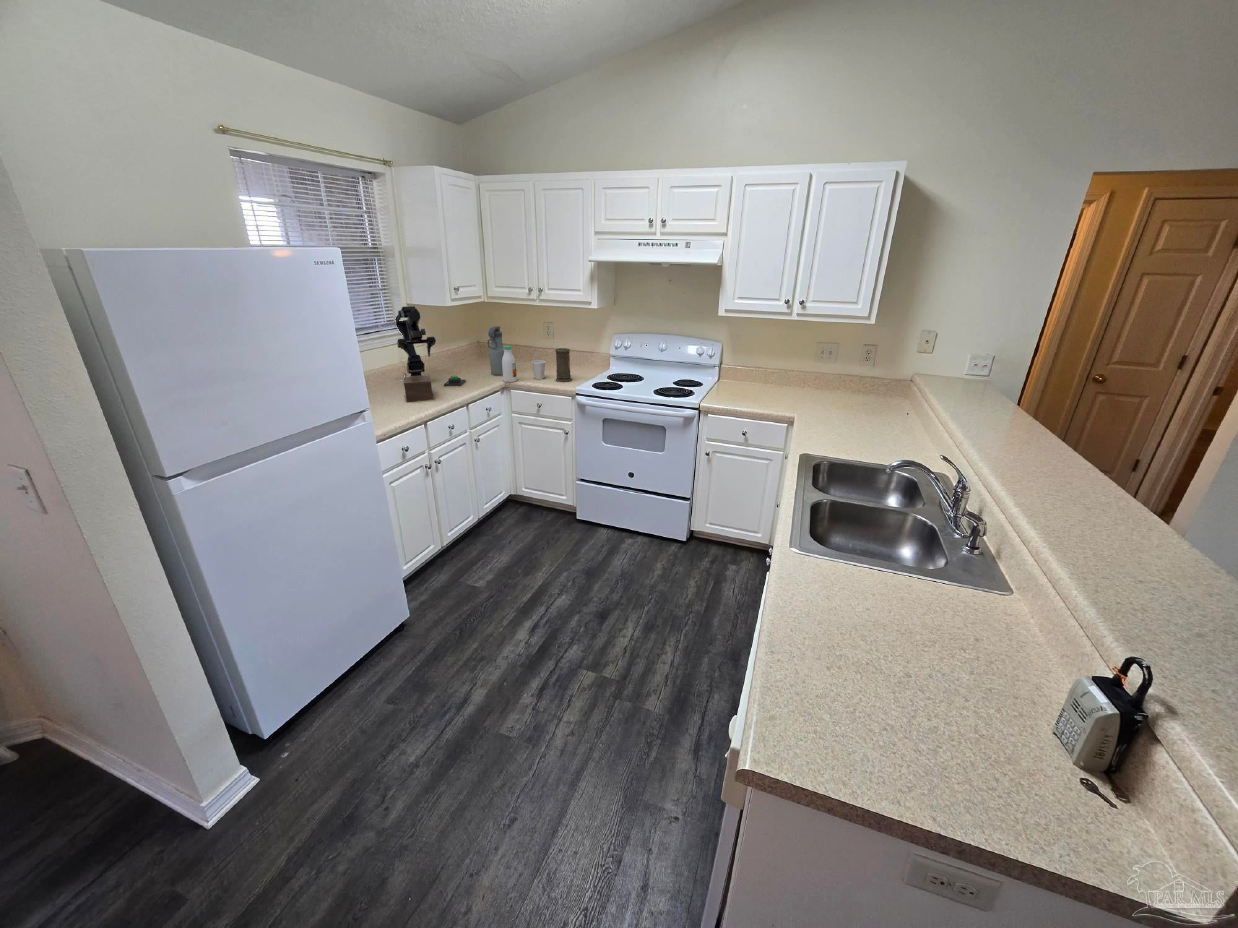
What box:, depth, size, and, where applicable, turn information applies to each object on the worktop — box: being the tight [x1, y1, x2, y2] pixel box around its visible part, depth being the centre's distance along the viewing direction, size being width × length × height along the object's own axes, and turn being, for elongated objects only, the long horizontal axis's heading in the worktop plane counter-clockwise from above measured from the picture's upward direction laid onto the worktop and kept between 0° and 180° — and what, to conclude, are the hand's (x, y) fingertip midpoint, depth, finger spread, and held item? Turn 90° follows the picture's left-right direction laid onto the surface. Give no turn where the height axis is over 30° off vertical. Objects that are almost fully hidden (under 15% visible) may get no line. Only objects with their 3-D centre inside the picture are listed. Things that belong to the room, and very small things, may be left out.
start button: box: [450, 375, 459, 379], centre depth 288 cm, size 4×4×2 cm
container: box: [554, 347, 572, 383], centre depth 295 cm, size 9×9×18 cm
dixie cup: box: [530, 359, 547, 380], centre depth 301 cm, size 8×8×10 cm
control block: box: [443, 376, 466, 387], centre depth 289 cm, size 11×9×3 cm
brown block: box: [403, 374, 434, 403], centre depth 261 cm, size 14×13×10 cm
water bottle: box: [487, 325, 504, 376], centre depth 307 cm, size 10×10×28 cm
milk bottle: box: [502, 345, 518, 383], centre depth 293 cm, size 8×8×20 cm
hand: (420, 357), depth 268 cm, fingers open, 9 cm apart
